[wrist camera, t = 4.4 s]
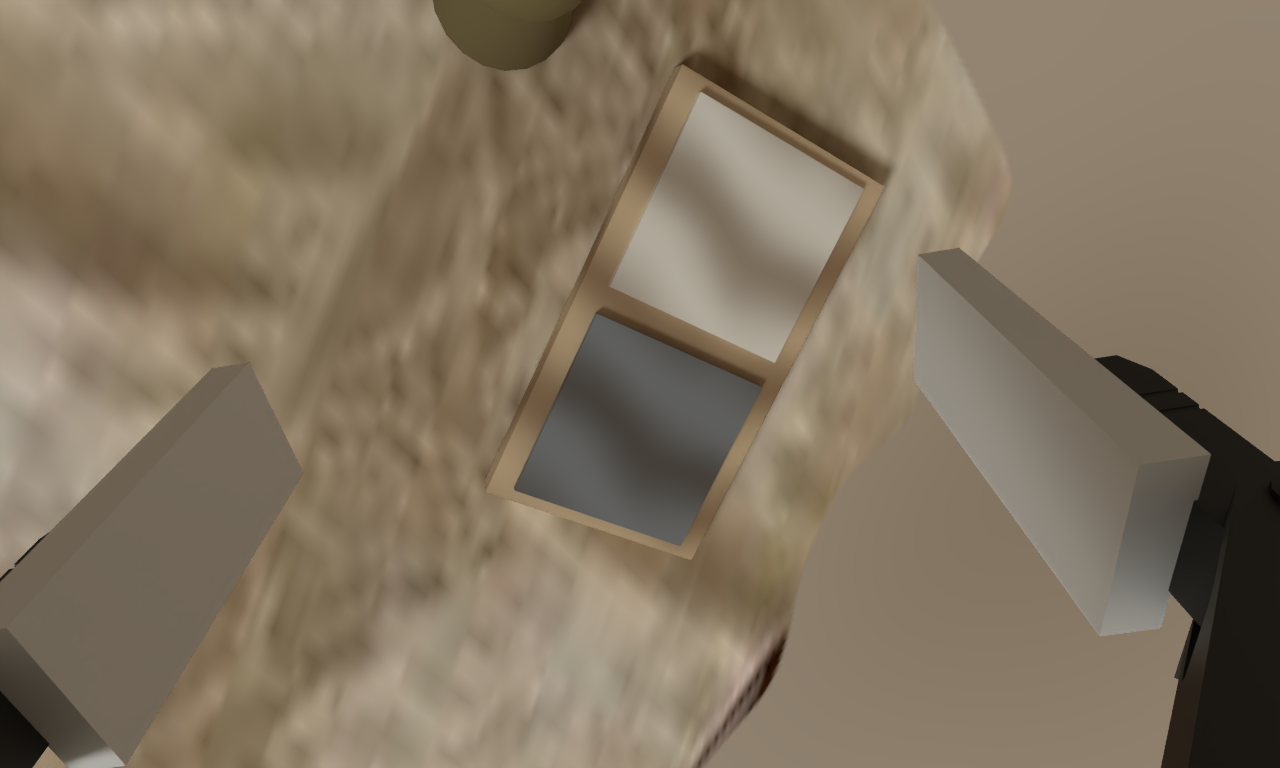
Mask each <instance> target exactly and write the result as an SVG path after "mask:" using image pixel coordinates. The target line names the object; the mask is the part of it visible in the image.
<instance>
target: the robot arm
mask: <svg viewBox="0 0 1280 768" xmlns="http://www.w3.org/2000/svg"><path fill="white" fill-rule="evenodd" d="M914 381H915V382H916V384H917V385H918V387H919V388H920V389H921V391H922V392H923V393H924V395H925V396H926V397H927V399H928V400H929V402H930V403H931V404H932V406H933V407H934V408H935V410H936V411H937V413H938V414H939V415H940V417H941V418H942V420H943V421H944V422H945V424H946V425H947V427H948V428H949V429H950V431H951V432H952V433H953V435H954V436H955V437H956V439H957V440H958V442H959V443H960V444H961V446H962V447H963V449H964V450H965V451H966V453H967V454H968V455H969V457H970V458H971V460H972V461H973V462H974V464H975V465H976V467H977V468H978V469H979V471H980V472H981V473H982V475H983V476H984V478H985V479H986V480H987V482H988V483H989V484H990V486H991V487H992V489H993V490H994V491H995V493H996V494H997V496H998V497H999V498H1000V500H1001V501H1002V502H1003V504H1004V505H1005V506H1006V508H1007V509H1008V511H1009V512H1010V513H1011V515H1012V516H1013V518H1014V519H1015V520H1016V522H1017V523H1018V525H1019V526H1020V527H1021V529H1022V530H1023V531H1024V533H1025V534H1026V535H1027V537H1028V538H1029V540H1030V541H1031V542H1032V544H1033V545H1034V547H1035V548H1036V549H1037V551H1038V552H1039V553H1040V555H1041V556H1042V558H1043V559H1044V560H1045V562H1046V563H1047V564H1048V566H1049V567H1050V569H1051V570H1052V571H1053V573H1054V574H1055V576H1056V577H1057V578H1058V580H1059V581H1060V582H1061V584H1062V585H1063V587H1064V588H1065V589H1066V591H1067V592H1068V593H1069V595H1070V596H1071V598H1072V599H1073V600H1074V602H1075V603H1076V604H1077V606H1078V607H1079V609H1080V610H1081V611H1082V613H1083V614H1084V616H1085V617H1086V618H1087V620H1088V621H1089V622H1090V624H1091V625H1092V626H1093V628H1094V629H1095V631H1096V632H1097V634H1098V635H1099V636H1105V635H1112V634H1120V633H1127V632H1135V631H1143V630H1150V629H1158V628H1161V625H1162V622H1163V618H1164V615H1165V611H1166V608H1167V604H1168V600H1169V598H1170V594H1172V595H1173V596H1174V598H1175V599H1176V600H1177V601H1178V602H1179V603H1180V604H1181V606H1182V607H1183V608H1184V609H1185V610H1186V611H1187V612H1188V613H1189V615H1190V616H1191V617H1192V618H1193V620H1192V624H1191V627H1190V630H1189V633H1188V636H1187V640H1186V642H1185V646H1184V649H1183V652H1182V655H1181V658H1180V661H1179V664H1178V668H1177V670H1176V674H1175V678H1177V679H1179V681H1178V686H1177V690H1176V695H1175V700H1174V705H1173V710H1172V715H1171V720H1170V725H1169V730H1168V735H1167V740H1166V745H1165V750H1164V755H1163V760H1162V765H1161V768H1280V461H1273V460H1272V459H1271V458H1270V457H1268V456H1267V455H1266V454H1264V453H1263V452H1262V451H1260V450H1259V449H1257V448H1256V447H1255V446H1253V445H1252V444H1251V443H1250V442H1248V441H1247V440H1245V439H1244V438H1243V437H1241V436H1240V435H1239V434H1238V433H1236V432H1235V431H1233V430H1232V429H1231V428H1230V427H1228V426H1227V425H1226V424H1224V423H1223V422H1221V421H1220V420H1219V419H1217V418H1216V417H1215V416H1214V415H1212V414H1211V413H1209V412H1208V411H1207V410H1206V409H1200V408H1199V404H1198V403H1196V402H1195V401H1194V400H1192V399H1191V398H1190V397H1188V396H1187V395H1186V394H1184V393H1183V392H1182V393H1178V389H1177V388H1176V387H1175V386H1173V385H1172V384H1171V383H1170V382H1168V381H1167V380H1166V379H1164V378H1163V377H1162V376H1160V375H1159V374H1158V373H1156V372H1155V371H1153V370H1152V369H1150V368H1147V367H1145V366H1142V365H1139V364H1137V363H1135V362H1132V361H1130V360H1127V359H1125V358H1122V357H1120V356H1117V355H1115V356H1108V357H1102V358H1095V359H1094V358H1093V357H1092V356H1090V355H1089V354H1088V353H1087V352H1086V351H1084V350H1083V349H1082V348H1081V347H1079V346H1078V345H1077V344H1076V343H1074V342H1073V341H1072V340H1071V339H1070V338H1068V337H1067V336H1066V335H1065V334H1064V333H1062V332H1061V331H1060V330H1059V329H1057V328H1056V327H1055V326H1054V325H1053V324H1051V323H1050V322H1049V321H1048V320H1046V319H1045V318H1044V317H1043V316H1041V315H1040V314H1039V313H1038V312H1037V311H1035V310H1034V309H1033V308H1032V307H1031V306H1029V305H1028V304H1027V303H1026V302H1024V301H1023V300H1022V299H1021V298H1019V297H1018V296H1017V295H1016V294H1015V293H1013V292H1012V291H1011V290H1010V289H1008V288H1007V287H1006V286H1005V285H1004V284H1002V283H1001V282H1000V281H999V280H998V279H996V278H995V277H994V276H993V275H991V274H990V273H989V272H988V271H987V270H985V269H984V268H983V267H982V266H980V265H979V264H978V263H977V262H976V261H974V260H973V259H972V258H971V257H969V256H968V255H967V254H966V253H965V252H963V251H962V250H961V249H960V248H956V249H950V250H943V251H937V252H931V253H925V254H919V255H918V269H917V298H916V327H915V356H914ZM302 475H303V471H302V469H301V467H300V465H299V463H298V461H297V459H296V456H295V454H294V452H293V450H292V448H291V446H290V444H289V442H288V440H287V438H286V436H285V434H284V432H283V430H282V428H281V426H280V424H279V422H278V420H277V418H276V416H275V414H274V412H273V410H272V408H271V406H270V404H269V402H268V399H267V397H266V395H265V393H264V391H263V389H262V387H261V385H260V383H259V381H258V379H257V377H256V375H255V373H254V371H253V369H252V367H251V365H250V363H249V362H248V363H242V364H236V365H230V366H224V367H217V368H212V369H211V370H210V371H209V372H208V373H207V374H206V375H205V376H204V377H203V378H202V379H201V380H200V381H199V382H198V383H197V384H196V385H195V386H194V387H193V388H192V389H191V390H190V391H189V392H188V393H187V394H186V395H185V396H184V397H183V398H182V399H181V400H180V401H179V402H178V403H177V404H176V405H175V406H174V407H173V408H172V409H171V410H170V411H169V412H168V413H167V414H166V415H165V416H164V417H163V418H162V419H161V420H160V421H159V422H158V423H157V424H156V426H155V427H154V428H153V429H152V430H151V431H150V432H149V433H148V434H147V435H146V436H145V437H144V438H143V439H142V440H141V441H140V442H139V443H138V444H137V445H136V446H135V447H134V448H133V449H132V450H131V451H130V452H129V453H128V454H127V455H126V456H125V457H124V458H123V459H122V460H121V461H120V462H119V463H118V464H117V465H116V466H115V467H114V468H113V469H112V470H111V471H110V472H109V473H108V474H107V475H106V476H105V477H104V478H103V479H102V480H101V481H100V482H99V483H98V484H97V485H96V486H95V487H94V488H93V489H92V490H91V491H90V492H89V493H88V494H87V495H86V496H85V497H84V498H83V499H82V500H81V501H80V502H79V503H78V504H77V505H76V506H75V507H74V508H73V509H72V510H71V511H70V512H69V513H68V514H67V515H66V516H65V517H64V518H63V519H62V520H61V521H60V522H59V523H58V524H57V525H56V526H55V527H54V528H53V529H52V530H51V531H50V532H49V533H47V534H46V535H45V536H43V537H42V538H40V539H39V540H38V541H37V542H36V543H35V544H34V545H33V546H32V547H31V548H30V549H29V550H28V551H27V552H26V553H25V554H24V555H23V556H22V557H21V558H20V559H19V560H18V561H17V562H16V563H15V564H14V565H15V568H14V569H9V570H8V571H7V572H6V573H5V574H4V575H3V576H2V577H1V578H0V768H32V767H33V766H34V765H35V763H36V762H37V761H38V759H39V758H40V756H41V755H42V754H43V752H44V751H45V749H46V748H47V747H49V748H50V749H51V750H52V751H53V752H54V753H55V754H56V755H57V756H58V757H59V758H60V759H61V760H62V762H63V763H64V764H65V765H66V766H67V767H68V768H111V767H118V766H126V764H127V762H128V761H129V759H130V757H131V756H132V754H133V752H134V751H135V749H136V748H137V746H138V744H139V743H140V741H141V739H142V738H143V736H144V734H145V733H146V731H147V729H148V728H149V726H150V725H151V723H152V721H153V720H154V718H155V716H156V715H157V713H158V711H159V710H160V708H161V706H162V705H163V703H164V702H165V700H166V698H167V697H168V695H169V693H170V692H171V690H172V688H173V687H174V685H175V683H176V682H177V680H178V678H179V677H180V675H181V674H182V672H183V670H184V669H185V667H186V665H187V664H188V662H189V660H190V659H191V657H192V655H193V654H194V652H195V651H196V649H197V647H198V646H199V644H200V642H201V641H202V639H203V637H204V636H205V634H206V632H207V631H208V629H209V628H210V626H211V624H212V623H213V621H214V619H215V618H216V616H217V614H218V613H219V611H220V609H221V608H222V606H223V604H224V603H225V601H226V600H227V598H228V596H229V595H230V593H231V591H232V590H233V588H234V586H235V585H236V583H237V581H238V580H239V578H240V577H241V575H242V573H243V572H244V570H245V568H246V567H247V565H248V563H249V562H250V560H251V558H252V557H253V555H254V553H255V552H256V550H257V549H258V547H259V545H260V544H261V542H262V540H263V539H264V537H265V535H266V534H267V532H268V530H269V529H270V527H271V526H272V524H273V522H274V521H275V519H276V517H277V516H278V514H279V512H280V511H281V509H282V507H283V506H284V504H285V503H286V501H287V499H288V498H289V496H290V494H291V493H292V491H293V489H294V488H295V486H296V484H297V483H298V481H299V479H300V478H301V476H302Z"/></svg>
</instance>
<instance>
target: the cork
mask: <svg viewBox="0 0 1280 768" xmlns="http://www.w3.org/2000/svg"><path fill="white" fill-rule="evenodd" d="M582 1H583V0H433V3H434V8H435V12H436V14H437V16H438V18H439V21H440V23H441V25H442V27H443V29H444V31H445V33H446V35H447V36H448V37H449V38H450V39H451V40H452V41H453V42H454V44H455V45H456V46H457V47H458V48H459V49H460V50H461V51H462V52H463V53H464V54H466V55H467V56H469V57H470V58H472V59H474V60H475V61H477V62H479V63H480V64H482V65H484V66H488V67H492V68H496V69H500V70H504V71H506V70H518V69H527V68H529V67H531V66H533V65H535V64H538V63H540V62H542V61H544V60H546V59H547V58H548V57H549V56H550V55H551V54H552V53H553V52H554V51H555V50H556V49H557V48H558V47H559V46H560V45H561V43H562V41H563V39H564V37H565V35H566V33H567V31H568V29H569V27H570V25H571V21H572V15H573V10H574V9H575V8H576V7H577V6H578V5H579V4H580V3H581V2H582Z"/></svg>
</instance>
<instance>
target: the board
mask: <svg viewBox="0 0 1280 768" xmlns="http://www.w3.org/2000/svg"><path fill="white" fill-rule="evenodd" d="M883 189H884V186H883V185H881V184H879V183H878V182H876V181H874V180H873V179H871V178H869V177H868V176H866V175H865V174H863V173H861V172H860V171H858V170H856V169H855V168H853V167H851V166H850V165H848V164H846V163H845V162H843V161H841V160H840V159H838V158H836V157H835V156H833V155H832V154H830V153H828V152H827V151H825V150H823V149H822V148H820V147H818V146H817V145H815V144H813V143H812V142H810V141H808V140H807V139H805V138H803V137H802V136H800V135H798V134H797V133H795V132H794V131H792V130H790V129H789V128H787V127H785V126H784V125H782V124H780V123H779V122H777V121H775V120H774V119H772V118H770V117H769V116H767V115H765V114H764V113H762V112H761V111H759V110H757V109H756V108H754V107H752V106H751V105H749V104H747V103H746V102H744V101H742V100H741V99H739V98H737V97H736V96H734V95H732V94H731V93H729V92H727V91H726V90H724V89H723V88H721V87H719V86H718V85H716V84H714V83H713V82H711V81H709V80H708V79H706V78H704V77H703V76H701V75H699V74H698V73H696V72H694V71H693V70H691V69H690V68H688V67H686V66H685V65H683V64H682V65H680V66H677V67H675V68H674V70H673V72H672V74H671V77H670V79H669V81H668V83H667V85H666V87H665V90H664V92H663V94H662V96H661V98H660V100H659V103H658V105H657V107H656V109H655V111H654V114H653V116H652V118H651V120H650V122H649V124H648V127H647V129H646V131H645V133H644V135H643V138H642V140H641V142H640V144H639V146H638V148H637V151H636V153H635V155H634V157H633V159H632V161H631V164H630V166H629V168H628V170H627V172H626V175H625V177H624V179H623V181H622V183H621V185H620V188H619V190H618V192H617V194H616V196H615V198H614V201H613V203H612V205H611V207H610V209H609V212H608V214H607V216H606V218H605V220H604V222H603V225H602V227H601V229H600V231H599V233H598V236H597V238H596V240H595V242H594V244H593V246H592V249H591V251H590V253H589V255H588V257H587V259H586V262H585V264H584V266H583V268H582V270H581V273H580V275H579V277H578V279H577V281H576V283H575V286H574V288H573V290H572V292H571V294H570V296H569V299H568V301H567V303H566V305H565V307H564V310H563V312H562V314H561V316H560V318H559V320H558V323H557V325H556V327H555V329H554V331H553V334H552V336H551V338H550V340H549V342H548V344H547V347H546V349H545V351H544V353H543V355H542V357H541V360H540V362H539V364H538V366H537V368H536V371H535V373H534V375H533V377H532V379H531V381H530V384H529V386H528V388H527V390H526V392H525V394H524V397H523V399H522V401H521V403H520V405H519V408H518V410H517V412H516V414H515V416H514V418H513V421H512V423H511V425H510V427H509V429H508V432H507V434H506V436H505V438H504V440H503V442H502V445H501V447H500V449H499V451H498V453H497V455H496V458H495V460H494V462H493V464H492V466H491V469H490V471H489V473H488V475H487V477H486V479H485V482H484V484H485V492H487V493H490V494H493V495H496V496H499V497H502V498H505V499H508V500H511V501H514V502H517V503H520V504H523V505H526V506H529V507H532V508H535V509H539V510H542V511H545V512H548V513H551V514H554V515H557V516H560V517H563V518H566V519H569V520H572V521H575V522H578V523H581V524H584V525H587V526H590V527H593V528H596V529H599V530H602V531H605V532H608V533H611V534H614V535H617V536H620V537H623V538H626V539H629V540H632V541H635V542H638V543H641V544H644V545H647V546H650V547H653V548H656V549H659V550H662V551H665V552H668V553H671V554H674V555H677V556H680V557H683V558H686V559H689V560H692V558H693V556H694V554H695V552H696V550H697V548H698V546H699V544H700V542H701V540H702V538H703V536H704V535H705V533H706V531H707V529H708V527H709V525H710V523H711V521H712V519H713V517H714V515H715V513H716V511H717V509H718V508H719V506H720V504H721V502H722V500H723V498H724V496H725V494H726V492H727V490H728V488H729V486H730V484H731V482H732V481H733V479H734V477H735V475H736V473H737V471H738V469H739V467H740V465H741V463H742V461H743V459H744V457H745V455H746V454H747V452H748V450H749V448H750V446H751V444H752V442H753V440H754V438H755V436H756V434H757V432H758V430H759V428H760V427H761V425H762V423H763V421H764V419H765V417H766V415H767V413H768V411H769V409H770V407H771V405H772V403H773V401H774V400H775V398H776V396H777V394H778V392H779V390H780V388H781V386H782V384H783V382H784V380H785V378H786V376H787V374H788V373H789V371H790V369H791V367H792V365H793V363H794V361H795V359H796V357H797V355H798V353H799V351H800V349H801V347H802V346H803V344H804V342H805V340H806V338H807V336H808V334H809V332H810V330H811V328H812V326H813V324H814V322H815V320H816V318H817V317H818V315H819V313H820V311H821V309H822V307H823V305H824V303H825V301H826V299H827V297H828V295H829V293H830V291H831V290H832V288H833V286H834V284H835V282H836V280H837V278H838V276H839V274H840V272H841V270H842V268H843V266H844V264H845V263H846V261H847V259H848V257H849V255H850V253H851V251H852V249H853V247H854V245H855V243H856V241H857V239H858V237H859V236H860V234H861V232H862V230H863V228H864V226H865V224H866V222H867V220H868V218H869V216H870V214H871V212H872V210H873V209H874V207H875V205H876V203H877V201H878V199H879V197H880V195H881V193H882V191H883Z"/></svg>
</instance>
